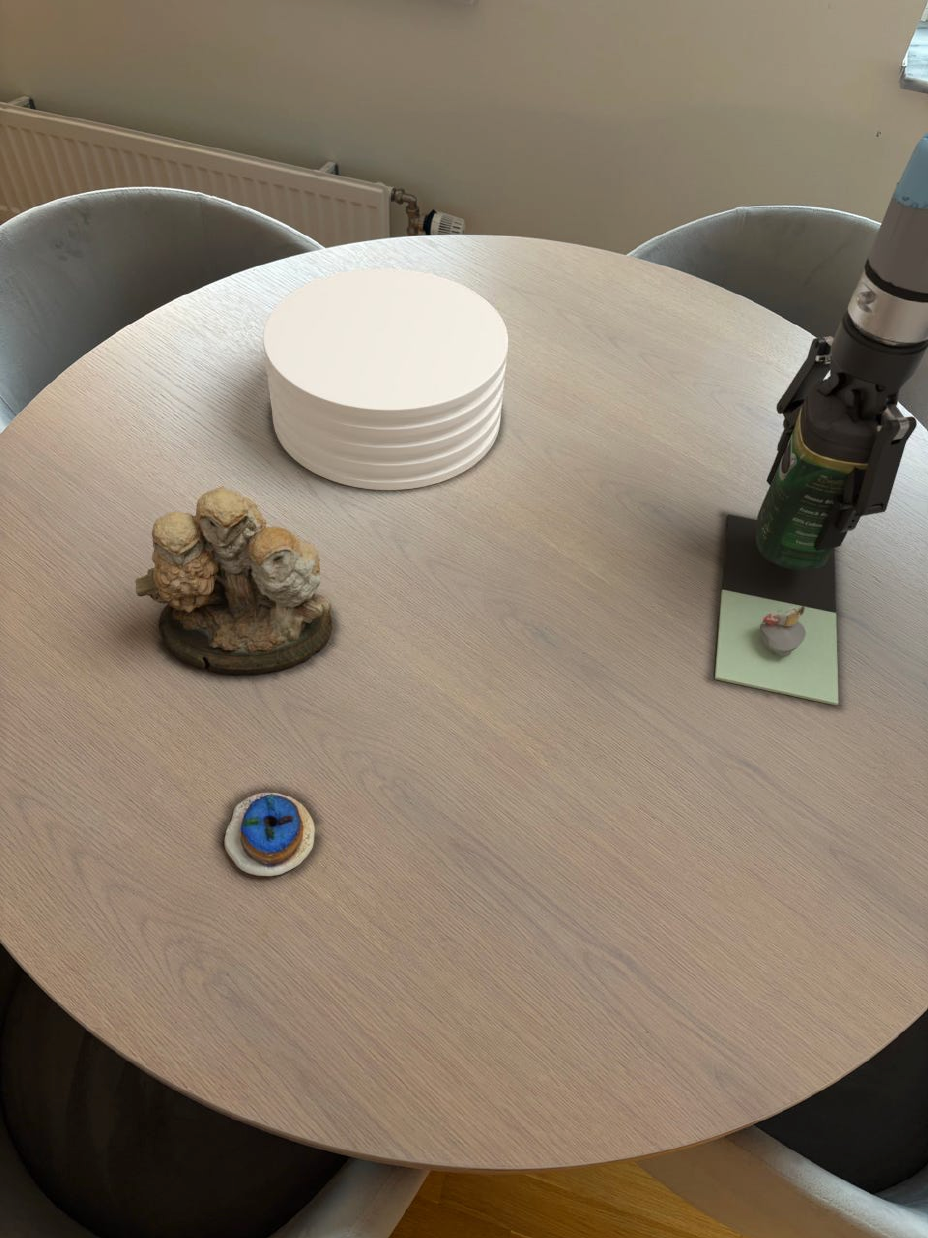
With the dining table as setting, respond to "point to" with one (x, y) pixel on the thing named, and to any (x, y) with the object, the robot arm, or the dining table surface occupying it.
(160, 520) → the owl figurine
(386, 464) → the plate stack
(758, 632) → the sorting mat
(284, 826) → the dessert
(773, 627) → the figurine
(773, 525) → the coffee jar
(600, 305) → the dining table surface
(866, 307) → the robot arm
